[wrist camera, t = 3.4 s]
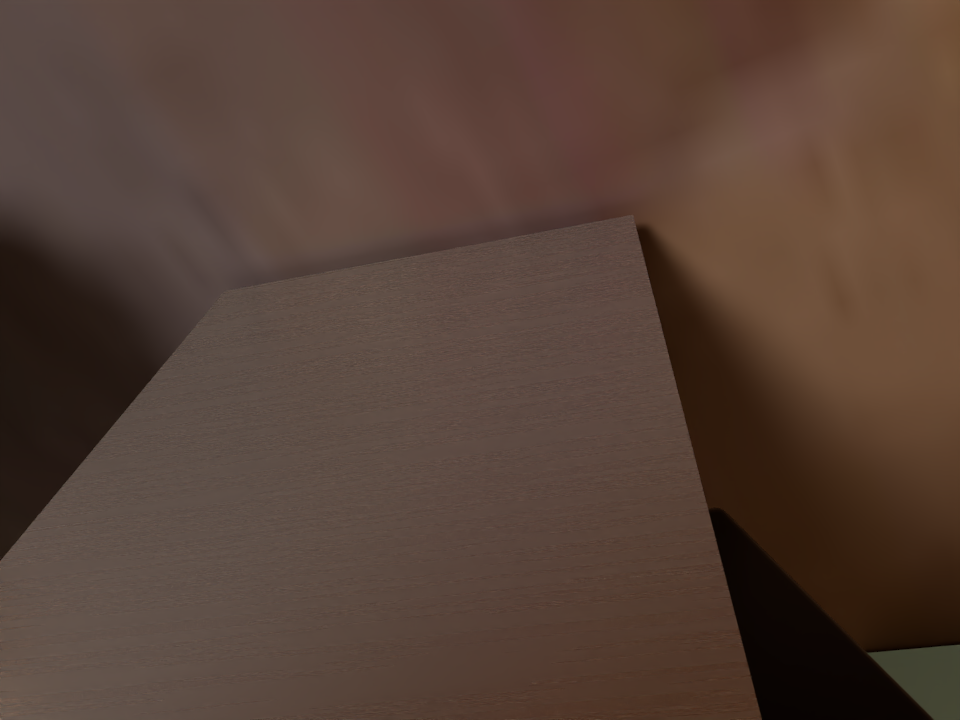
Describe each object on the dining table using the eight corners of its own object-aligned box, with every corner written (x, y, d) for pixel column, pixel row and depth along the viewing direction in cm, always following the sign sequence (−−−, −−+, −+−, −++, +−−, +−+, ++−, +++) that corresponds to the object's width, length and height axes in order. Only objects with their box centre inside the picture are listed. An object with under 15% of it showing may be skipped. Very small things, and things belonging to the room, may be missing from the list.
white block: (692, 632, 11) (817, 1282, 6) (375, 662, 12) (238, 1260, 7) (632, 215, 8) (771, 749, 3) (224, 291, 9) (-216, 818, 4)
